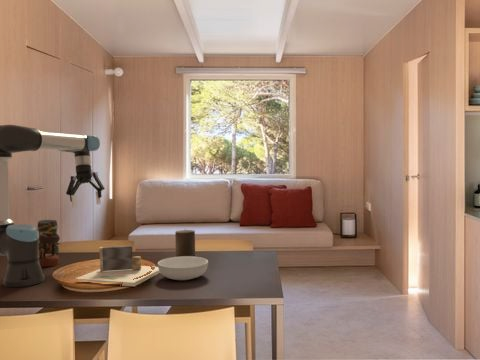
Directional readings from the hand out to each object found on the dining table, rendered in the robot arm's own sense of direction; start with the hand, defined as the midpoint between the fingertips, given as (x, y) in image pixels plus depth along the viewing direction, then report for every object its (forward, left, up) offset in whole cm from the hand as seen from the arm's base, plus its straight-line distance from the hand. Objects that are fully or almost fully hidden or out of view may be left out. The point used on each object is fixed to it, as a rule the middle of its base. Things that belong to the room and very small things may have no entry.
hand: (86, 206), depth 231 cm
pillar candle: (+9, -50, -27) cm, 57 cm away
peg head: (-26, -35, -25) cm, 50 cm away
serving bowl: (-25, -64, -27) cm, 74 cm away
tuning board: (-29, -38, -26) cm, 54 cm away
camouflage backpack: (+3, +27, -27) cm, 38 cm away
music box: (-17, +10, -27) cm, 33 cm away
